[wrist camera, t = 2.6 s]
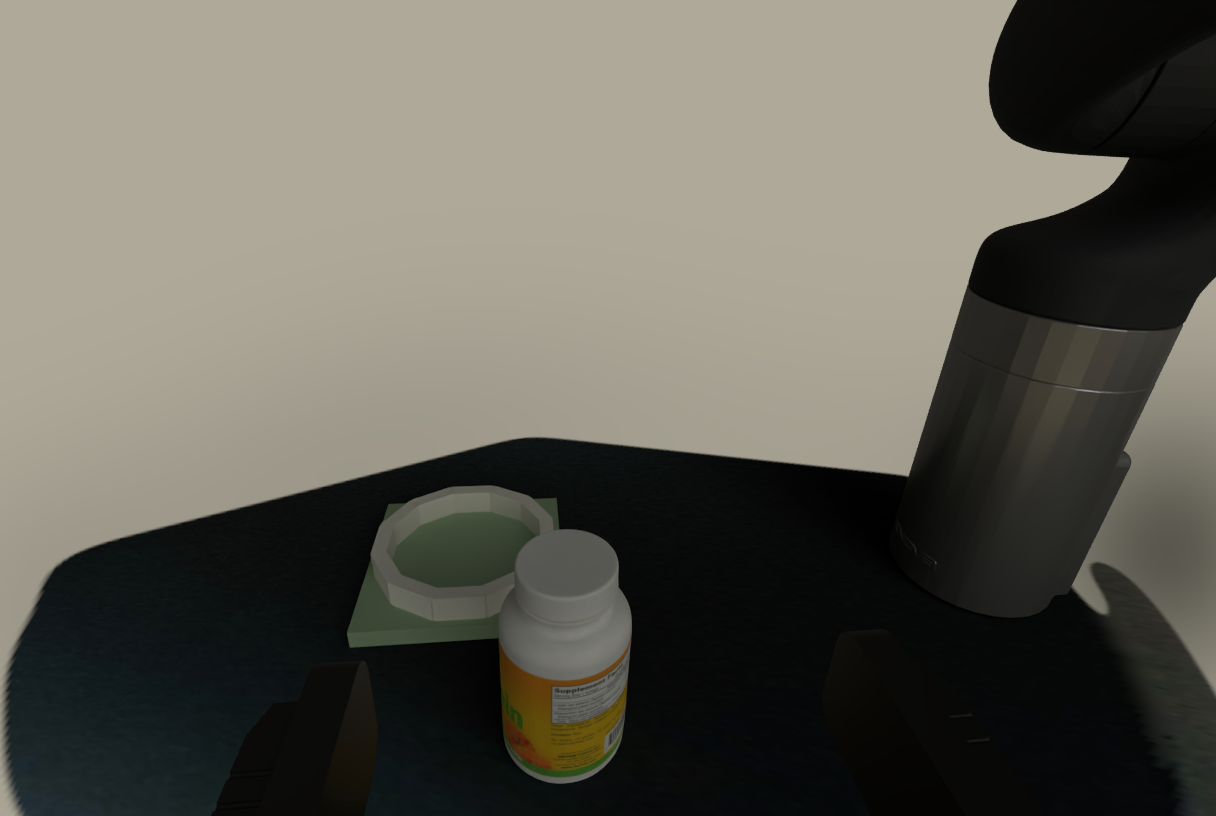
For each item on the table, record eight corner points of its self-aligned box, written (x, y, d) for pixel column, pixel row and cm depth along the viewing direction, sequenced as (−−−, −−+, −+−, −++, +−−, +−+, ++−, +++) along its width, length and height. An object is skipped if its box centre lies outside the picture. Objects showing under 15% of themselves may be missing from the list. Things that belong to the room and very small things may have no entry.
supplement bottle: (493, 694, 29) (484, 530, 25) (600, 667, 31) (609, 508, 27) (516, 805, 25) (510, 627, 21) (641, 766, 27) (659, 594, 22)
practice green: (556, 510, 43) (556, 479, 42) (566, 633, 33) (567, 598, 32) (390, 516, 41) (385, 485, 40) (349, 647, 32) (342, 610, 30)
